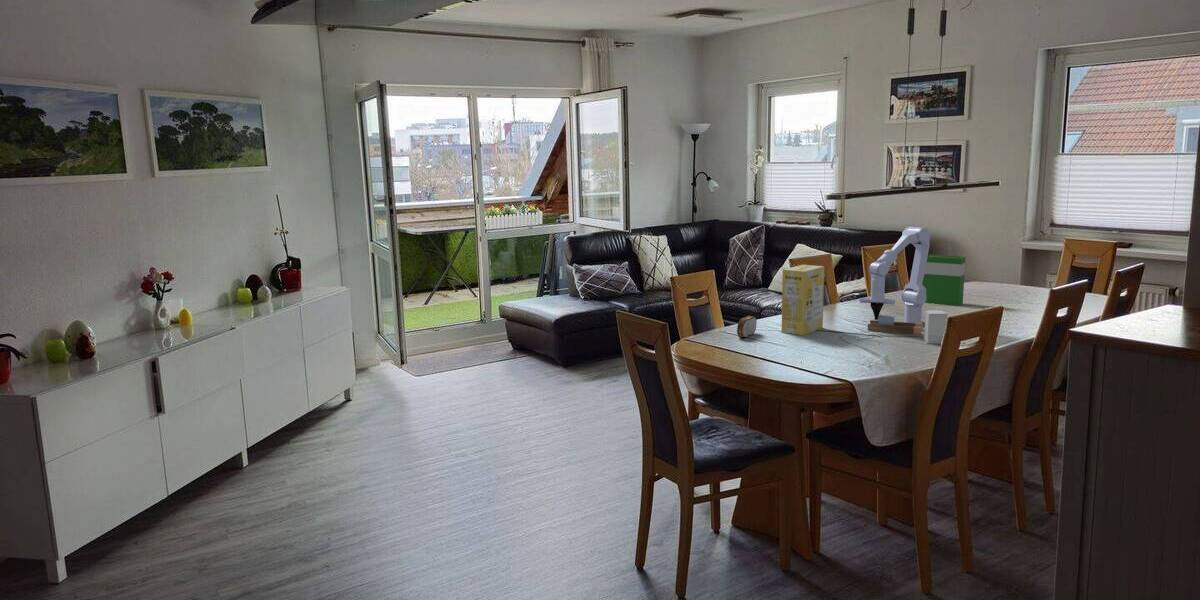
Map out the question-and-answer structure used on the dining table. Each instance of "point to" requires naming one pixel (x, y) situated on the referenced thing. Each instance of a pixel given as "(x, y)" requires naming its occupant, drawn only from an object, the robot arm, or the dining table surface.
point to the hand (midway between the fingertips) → (876, 319)
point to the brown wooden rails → (896, 327)
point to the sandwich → (746, 326)
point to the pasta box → (802, 299)
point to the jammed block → (886, 319)
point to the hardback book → (944, 279)
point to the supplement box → (934, 326)
